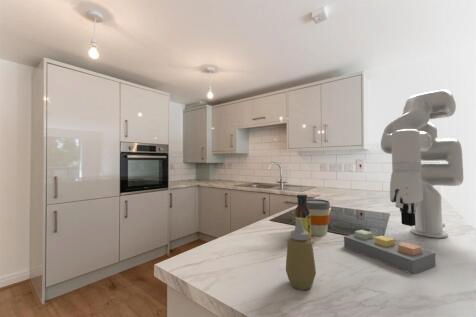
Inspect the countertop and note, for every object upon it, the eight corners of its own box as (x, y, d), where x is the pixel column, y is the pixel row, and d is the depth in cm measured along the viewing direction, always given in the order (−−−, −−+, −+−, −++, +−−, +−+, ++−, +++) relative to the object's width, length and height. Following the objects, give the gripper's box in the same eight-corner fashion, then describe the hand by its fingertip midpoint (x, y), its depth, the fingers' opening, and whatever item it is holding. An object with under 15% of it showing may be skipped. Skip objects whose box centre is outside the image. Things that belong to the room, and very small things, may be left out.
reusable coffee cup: (333, 231, 106) (332, 200, 106) (328, 239, 95) (327, 204, 96) (306, 227, 113) (306, 198, 113) (299, 234, 102) (298, 202, 103)
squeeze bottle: (282, 277, 64) (280, 215, 64) (309, 276, 65) (307, 214, 65) (291, 294, 56) (289, 223, 56) (321, 291, 57) (319, 221, 57)
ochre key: (382, 241, 81) (382, 235, 81) (395, 245, 77) (394, 239, 77) (374, 243, 79) (374, 237, 79) (386, 247, 75) (386, 241, 75)
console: (365, 241, 91) (364, 232, 91) (435, 265, 69) (435, 253, 69) (344, 246, 86) (343, 236, 87) (413, 274, 64) (412, 260, 65)
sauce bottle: (312, 244, 90) (310, 195, 90) (296, 243, 91) (295, 195, 91) (310, 238, 96) (308, 193, 96) (295, 238, 97) (294, 193, 98)
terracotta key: (406, 248, 74) (406, 242, 74) (421, 253, 70) (421, 246, 70) (398, 251, 72) (397, 244, 72) (413, 256, 68) (413, 249, 68)
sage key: (362, 235, 88) (362, 229, 88) (372, 238, 84) (372, 232, 84) (354, 236, 86) (354, 231, 86) (365, 240, 82) (364, 234, 82)
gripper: (407, 167, 78) (409, 219, 77) (379, 168, 72) (381, 224, 71) (433, 167, 71) (435, 225, 70) (405, 168, 65) (407, 231, 64)
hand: (408, 224), depth 71 cm, fingers closed
